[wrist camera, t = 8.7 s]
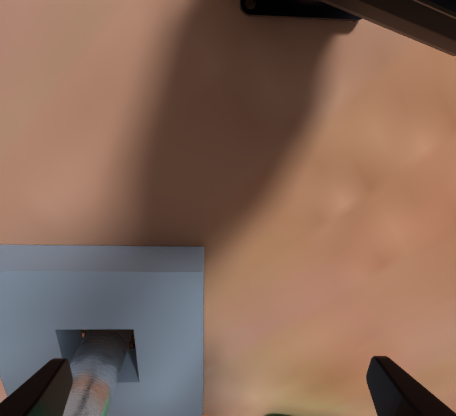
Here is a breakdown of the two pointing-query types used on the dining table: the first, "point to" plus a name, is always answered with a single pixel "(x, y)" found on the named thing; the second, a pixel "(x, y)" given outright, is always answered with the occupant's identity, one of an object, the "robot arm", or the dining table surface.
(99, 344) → the pin
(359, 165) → the dining table surface
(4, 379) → the socket plate
